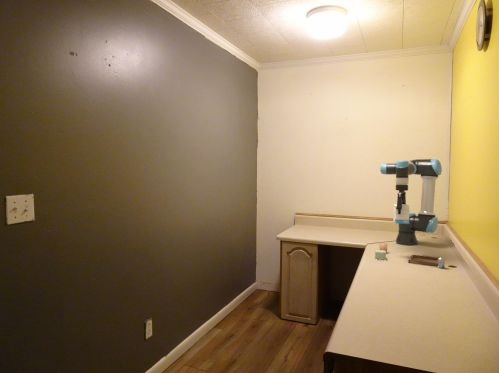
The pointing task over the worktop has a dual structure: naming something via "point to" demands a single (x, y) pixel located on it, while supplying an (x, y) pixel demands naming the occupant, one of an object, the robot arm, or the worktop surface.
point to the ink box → (404, 214)
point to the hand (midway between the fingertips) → (401, 218)
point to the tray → (423, 260)
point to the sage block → (380, 254)
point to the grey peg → (441, 262)
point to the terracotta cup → (383, 247)
